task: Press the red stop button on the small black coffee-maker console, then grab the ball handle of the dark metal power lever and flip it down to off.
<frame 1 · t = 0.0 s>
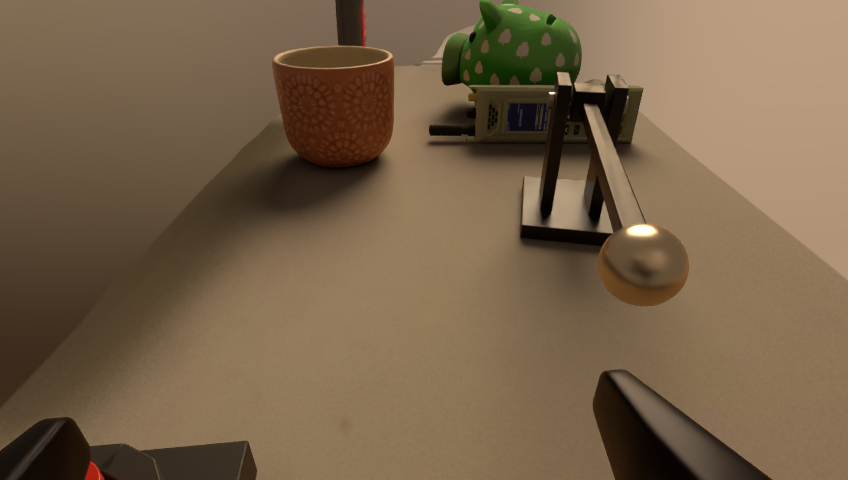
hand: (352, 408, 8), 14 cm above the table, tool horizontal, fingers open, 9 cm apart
planter: (342, 157, 55), on the table
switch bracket: (566, 213, 43), on the table
handheld radio: (528, 141, 59), on the table
flashlight: (361, 88, 82), on the table
piggy bank: (509, 111, 70), on the table
power lever: (604, 156, 28), point 10 cm above the table, hinge at 0.0°
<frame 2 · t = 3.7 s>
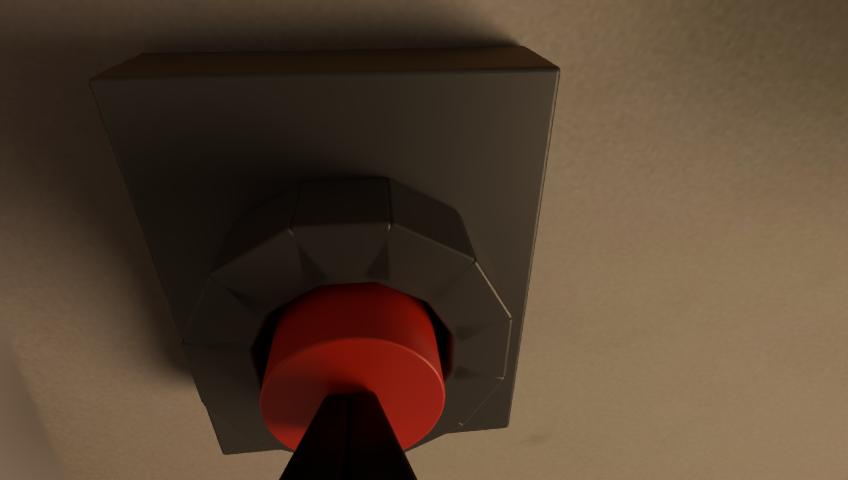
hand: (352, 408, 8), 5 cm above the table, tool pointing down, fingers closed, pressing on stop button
stop button: (355, 369, 9), point 4 cm above the table, slide at -0.2 cm, touching gripper
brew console: (357, 250, 12), on the table
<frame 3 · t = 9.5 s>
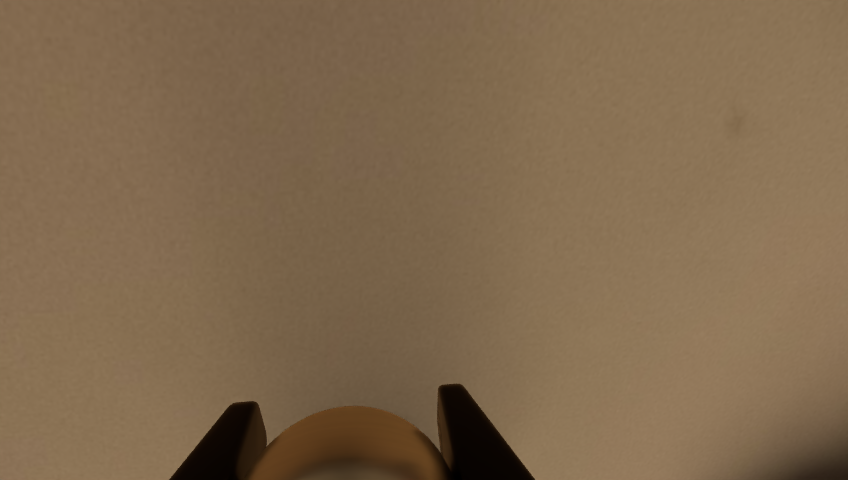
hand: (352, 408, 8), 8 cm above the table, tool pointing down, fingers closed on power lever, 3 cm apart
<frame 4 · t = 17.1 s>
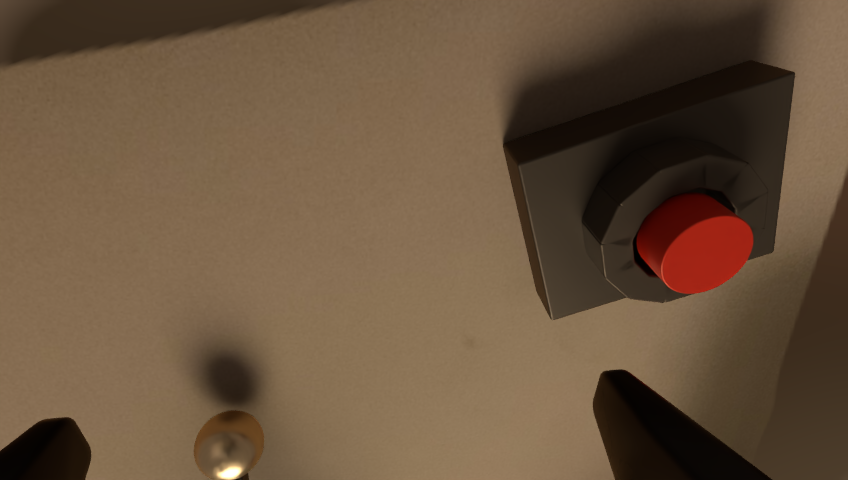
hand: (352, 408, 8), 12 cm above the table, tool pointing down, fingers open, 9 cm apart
stop button: (692, 243, 17), point 4 cm above the table, slide at 0.1 cm
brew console: (631, 189, 21), on the table
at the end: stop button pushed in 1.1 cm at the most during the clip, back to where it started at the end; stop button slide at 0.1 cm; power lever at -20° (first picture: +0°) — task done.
